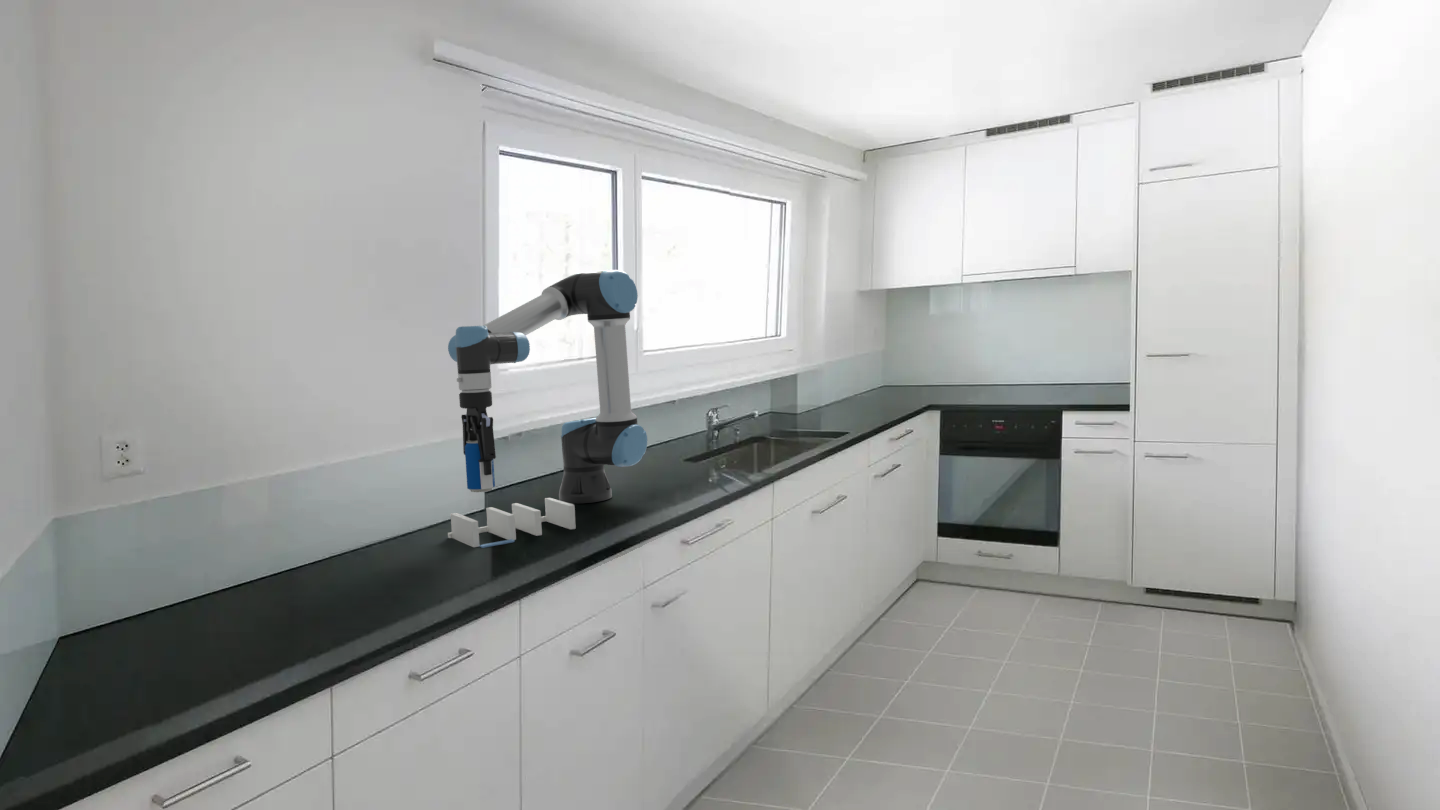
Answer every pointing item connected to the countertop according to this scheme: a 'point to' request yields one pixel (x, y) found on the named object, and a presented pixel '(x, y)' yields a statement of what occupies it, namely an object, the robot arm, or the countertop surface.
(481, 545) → the blue bezel
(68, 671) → the countertop surface
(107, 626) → the countertop surface
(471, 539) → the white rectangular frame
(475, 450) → the beverage can
